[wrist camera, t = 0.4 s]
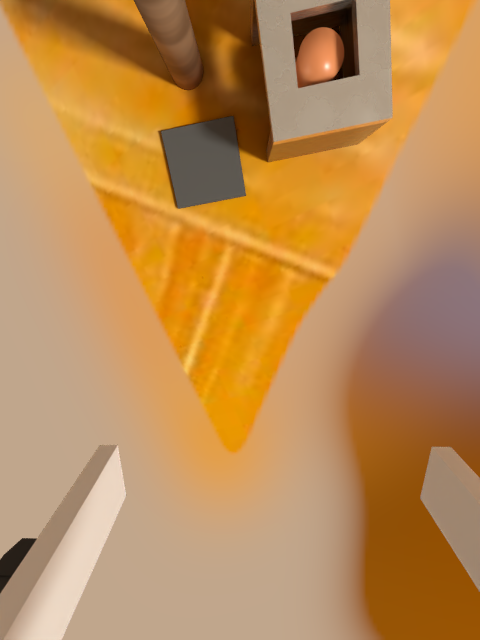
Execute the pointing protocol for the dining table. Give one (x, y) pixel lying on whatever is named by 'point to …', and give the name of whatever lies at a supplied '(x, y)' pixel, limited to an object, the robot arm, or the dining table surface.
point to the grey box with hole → (330, 97)
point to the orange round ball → (319, 57)
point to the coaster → (204, 162)
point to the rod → (174, 39)
